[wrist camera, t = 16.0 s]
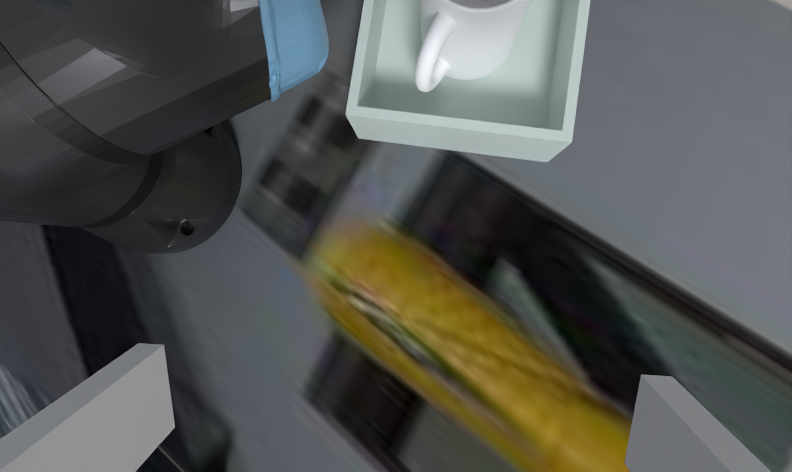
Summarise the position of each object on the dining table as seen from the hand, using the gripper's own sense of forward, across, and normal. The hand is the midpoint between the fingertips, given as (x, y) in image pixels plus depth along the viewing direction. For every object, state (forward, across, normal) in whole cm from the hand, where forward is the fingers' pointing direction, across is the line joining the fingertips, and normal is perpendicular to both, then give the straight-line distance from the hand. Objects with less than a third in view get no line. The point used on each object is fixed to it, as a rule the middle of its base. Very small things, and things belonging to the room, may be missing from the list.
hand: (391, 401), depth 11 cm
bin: (+30, +4, +15) cm, 34 cm away
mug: (+30, +3, +15) cm, 33 cm away
